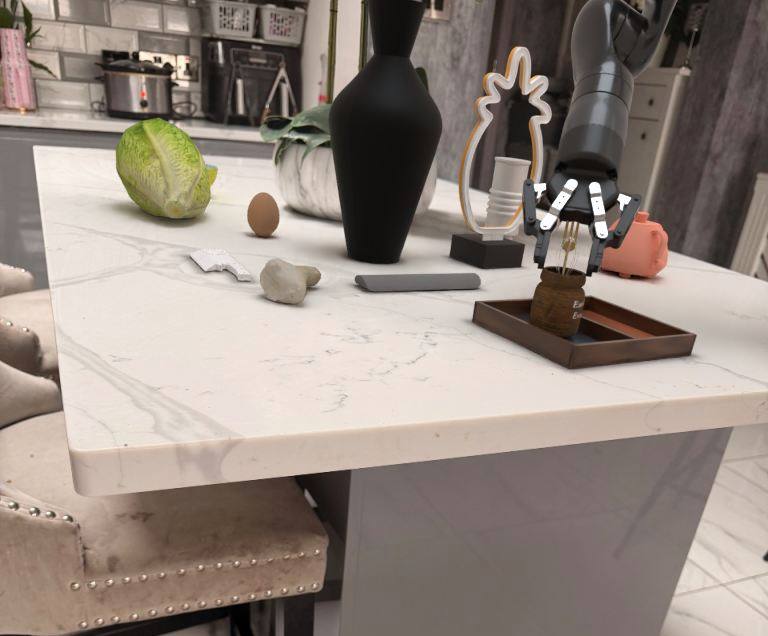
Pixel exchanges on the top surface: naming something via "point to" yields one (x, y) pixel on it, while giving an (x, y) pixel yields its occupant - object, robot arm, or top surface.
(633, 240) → the pink rounded pot
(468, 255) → the lamp
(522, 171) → the white ribbed cup
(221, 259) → the white flat piece
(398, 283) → the half round rod
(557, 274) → the utensil holder
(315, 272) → the stone
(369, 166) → the vase
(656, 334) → the sorting tray
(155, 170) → the lettuce
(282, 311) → the top surface
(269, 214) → the egg
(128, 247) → the top surface
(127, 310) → the top surface
